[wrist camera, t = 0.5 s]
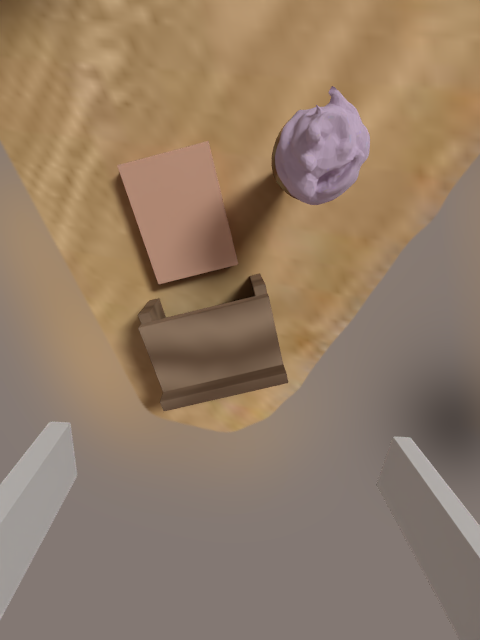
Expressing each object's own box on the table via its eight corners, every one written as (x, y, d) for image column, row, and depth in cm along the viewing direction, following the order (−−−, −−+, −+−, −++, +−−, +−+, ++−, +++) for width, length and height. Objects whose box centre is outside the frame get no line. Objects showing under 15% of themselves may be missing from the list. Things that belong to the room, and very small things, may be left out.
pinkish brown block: (125, 168, 31) (117, 165, 29) (209, 145, 31) (208, 141, 29) (162, 279, 36) (158, 284, 33) (237, 260, 35) (238, 264, 33)
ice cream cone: (277, 120, 30) (322, 46, 16) (331, 150, 31) (417, 105, 17) (248, 187, 32) (267, 173, 18) (300, 213, 33) (355, 218, 19)
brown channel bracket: (149, 300, 36) (129, 325, 28) (259, 273, 35) (269, 291, 28) (175, 372, 40) (163, 411, 32) (276, 348, 39) (288, 382, 31)
